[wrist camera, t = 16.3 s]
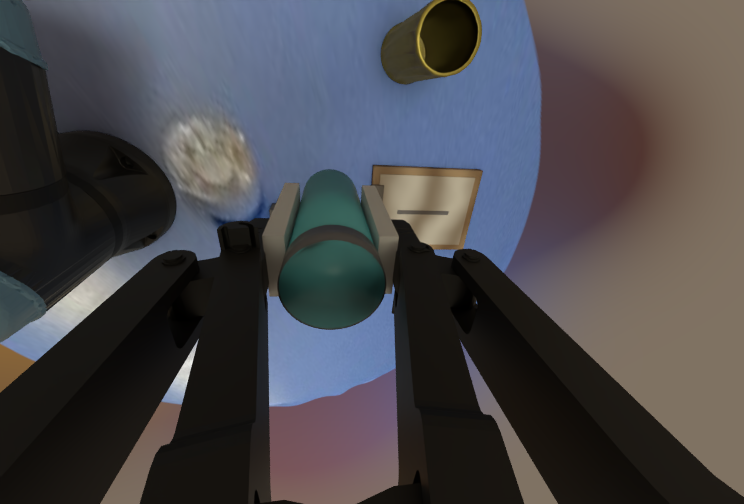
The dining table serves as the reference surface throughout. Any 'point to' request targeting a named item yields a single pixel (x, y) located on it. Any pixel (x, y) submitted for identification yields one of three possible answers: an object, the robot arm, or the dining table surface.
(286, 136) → the dining table surface
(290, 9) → the dining table surface
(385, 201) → the drawing board
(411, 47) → the vase
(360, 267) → the marker
